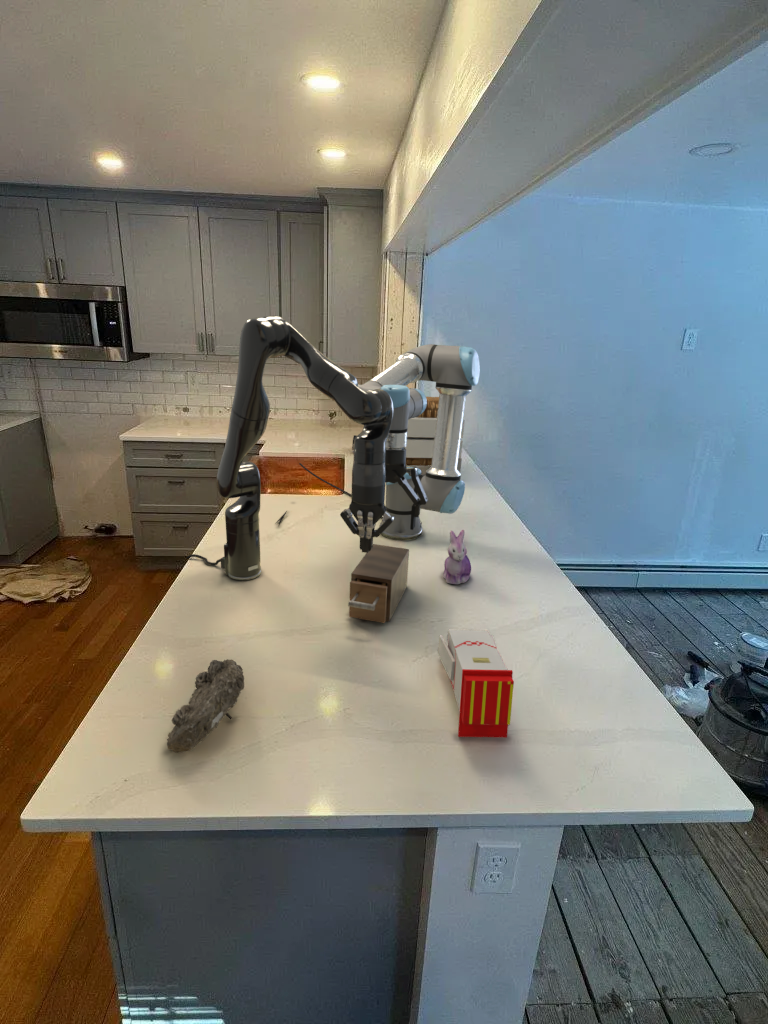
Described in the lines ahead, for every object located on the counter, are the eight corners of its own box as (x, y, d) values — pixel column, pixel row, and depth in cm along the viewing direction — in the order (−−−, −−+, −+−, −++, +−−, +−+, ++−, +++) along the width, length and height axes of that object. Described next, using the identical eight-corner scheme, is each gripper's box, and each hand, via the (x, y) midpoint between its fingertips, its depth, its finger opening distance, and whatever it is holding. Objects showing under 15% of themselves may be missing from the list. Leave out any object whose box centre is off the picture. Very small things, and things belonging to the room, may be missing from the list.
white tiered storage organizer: (382, 463, 289) (386, 382, 275) (445, 464, 293) (451, 384, 279) (390, 482, 257) (394, 392, 243) (460, 483, 261) (468, 394, 247)
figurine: (453, 588, 162) (457, 540, 157) (434, 573, 170) (437, 527, 165) (479, 582, 166) (485, 535, 161) (459, 568, 175) (464, 523, 170)
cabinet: (389, 621, 144) (391, 579, 140) (350, 614, 146) (351, 573, 142) (406, 586, 162) (409, 549, 158) (371, 581, 164) (373, 543, 160)
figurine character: (364, 456, 305) (364, 447, 319) (364, 443, 302) (364, 434, 315) (351, 456, 305) (352, 446, 318) (351, 443, 302) (352, 434, 315)
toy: (488, 613, 130) (523, 677, 101) (484, 667, 133) (517, 744, 104) (435, 612, 130) (455, 676, 101) (432, 666, 133) (451, 743, 103)
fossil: (192, 660, 117) (244, 628, 112) (224, 691, 120) (276, 661, 115) (142, 746, 98) (202, 712, 93) (182, 779, 101) (242, 748, 96)
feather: (294, 505, 227) (296, 501, 226) (277, 528, 200) (280, 524, 199) (290, 503, 226) (292, 499, 226) (273, 526, 200) (276, 521, 199)
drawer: (378, 634, 136) (380, 598, 133) (341, 628, 138) (342, 592, 135) (401, 589, 158) (403, 558, 155) (369, 584, 160) (370, 553, 157)
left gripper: (335, 481, 125) (334, 553, 131) (393, 488, 122) (389, 561, 128) (345, 473, 132) (344, 541, 138) (401, 479, 129) (397, 549, 135)
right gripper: (340, 445, 144) (339, 523, 152) (437, 455, 139) (431, 535, 146) (350, 439, 151) (348, 514, 158) (442, 448, 146) (436, 525, 153)
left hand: (366, 551), depth 133 cm, fingers closed
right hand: (387, 524), depth 152 cm, fingers open, 13 cm apart
